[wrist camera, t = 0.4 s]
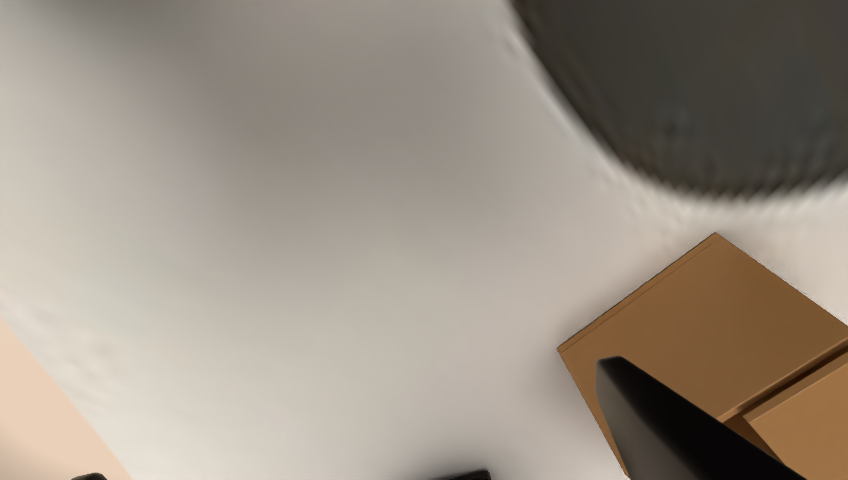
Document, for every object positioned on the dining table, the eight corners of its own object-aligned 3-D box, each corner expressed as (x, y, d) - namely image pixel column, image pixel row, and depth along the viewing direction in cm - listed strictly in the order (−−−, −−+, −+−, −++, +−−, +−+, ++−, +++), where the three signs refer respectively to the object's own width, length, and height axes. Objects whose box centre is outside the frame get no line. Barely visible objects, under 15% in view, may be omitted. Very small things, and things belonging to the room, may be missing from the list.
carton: (655, 438, 35) (747, 579, 27) (556, 348, 29) (634, 492, 21) (795, 350, 32) (944, 476, 24) (715, 231, 26) (876, 345, 18)
